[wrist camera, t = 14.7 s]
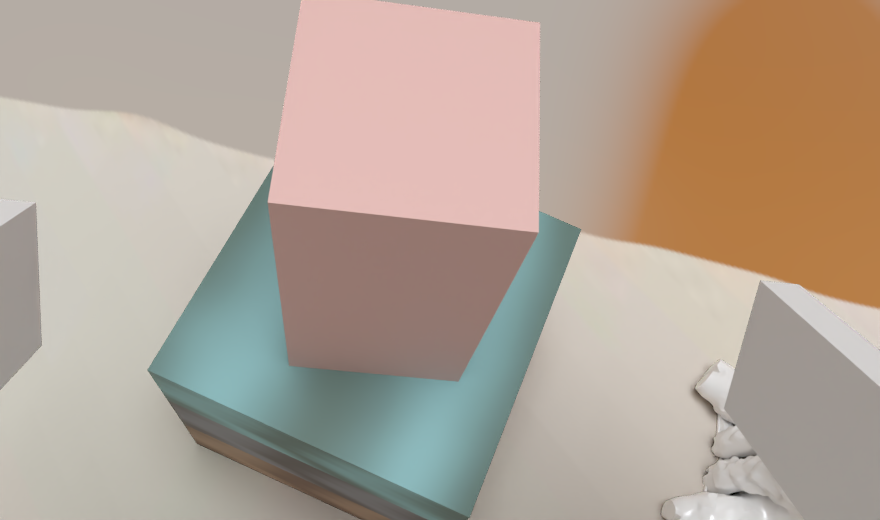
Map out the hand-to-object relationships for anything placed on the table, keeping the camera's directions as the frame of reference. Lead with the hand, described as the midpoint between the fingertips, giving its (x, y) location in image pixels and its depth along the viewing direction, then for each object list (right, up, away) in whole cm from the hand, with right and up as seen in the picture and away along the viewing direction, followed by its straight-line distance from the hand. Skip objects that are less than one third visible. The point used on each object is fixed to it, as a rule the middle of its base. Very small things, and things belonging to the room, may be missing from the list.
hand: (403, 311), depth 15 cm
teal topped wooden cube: (-3, -5, +26) cm, 27 cm away
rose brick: (-1, 0, +15) cm, 15 cm away
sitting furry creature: (+17, -10, +27) cm, 33 cm away
